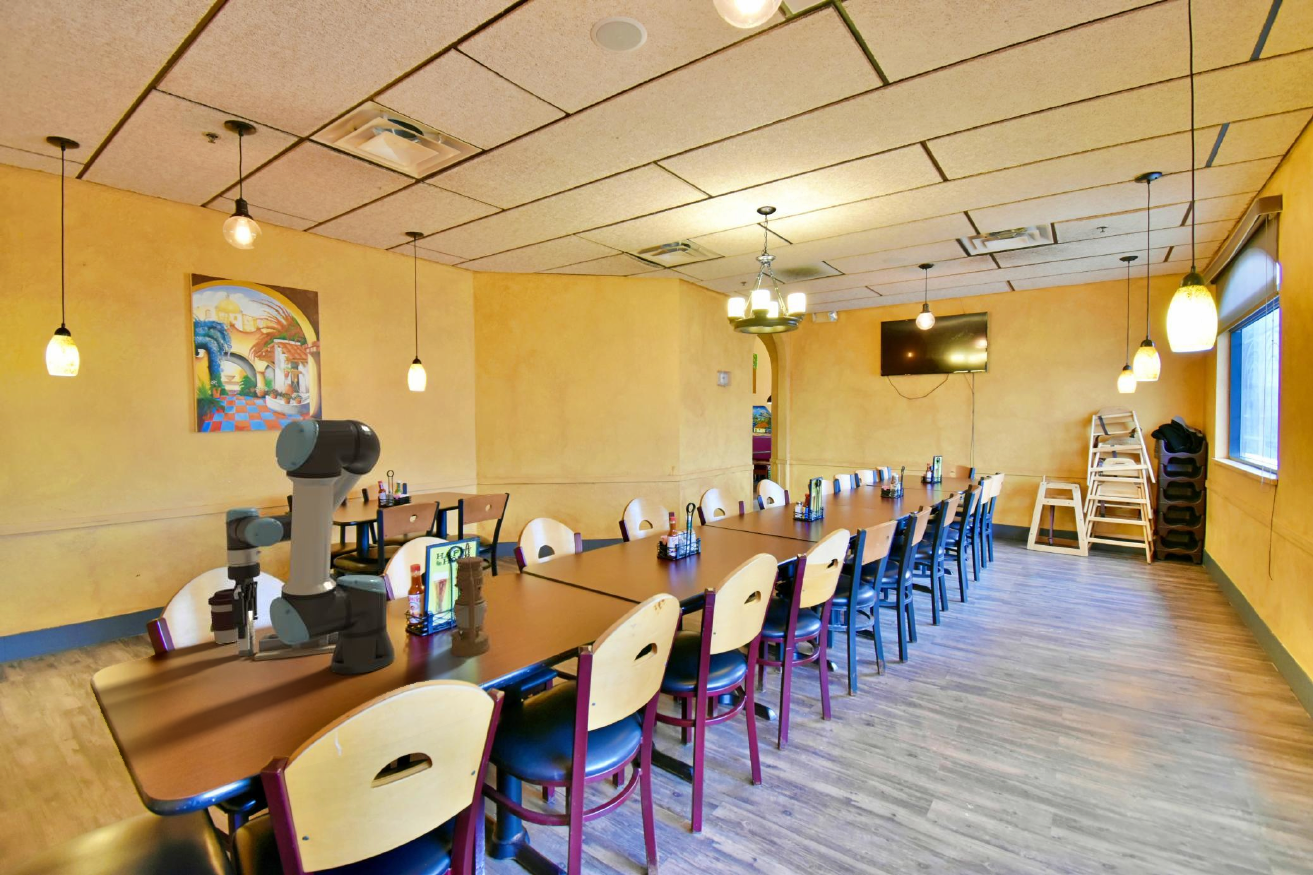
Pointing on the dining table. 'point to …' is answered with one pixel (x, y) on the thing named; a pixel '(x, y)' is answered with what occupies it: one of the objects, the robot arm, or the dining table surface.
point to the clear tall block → (251, 636)
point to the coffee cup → (222, 616)
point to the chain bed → (293, 653)
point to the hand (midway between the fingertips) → (246, 646)
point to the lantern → (469, 609)
